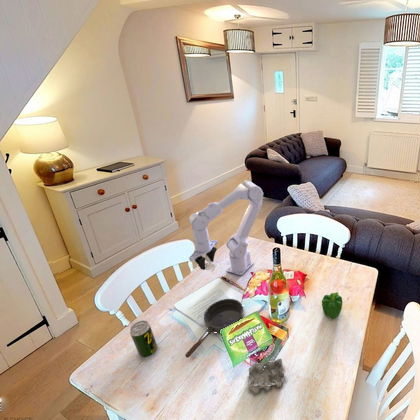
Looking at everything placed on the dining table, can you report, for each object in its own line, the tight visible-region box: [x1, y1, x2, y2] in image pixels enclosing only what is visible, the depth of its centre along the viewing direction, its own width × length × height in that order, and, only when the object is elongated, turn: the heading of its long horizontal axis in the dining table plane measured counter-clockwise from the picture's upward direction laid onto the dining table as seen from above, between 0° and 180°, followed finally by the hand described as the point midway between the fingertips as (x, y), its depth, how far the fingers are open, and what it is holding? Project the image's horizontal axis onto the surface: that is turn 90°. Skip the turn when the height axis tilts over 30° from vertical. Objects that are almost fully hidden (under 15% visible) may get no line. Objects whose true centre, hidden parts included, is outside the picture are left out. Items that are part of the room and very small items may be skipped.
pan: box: [203, 298, 245, 335], centre depth 104 cm, size 14×14×4 cm
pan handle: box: [184, 327, 213, 359], centre depth 92 cm, size 12×2×2 cm, turn 161°
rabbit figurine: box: [196, 254, 217, 273], centre depth 119 cm, size 6×4×8 cm
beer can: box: [129, 320, 158, 359], centre depth 89 cm, size 5×5×12 cm
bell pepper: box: [321, 291, 343, 320], centre depth 106 cm, size 8×8×10 cm
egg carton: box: [248, 358, 285, 394], centre depth 83 cm, size 11×8×4 cm
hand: (207, 265), depth 120 cm, fingers closed on rabbit figurine, 4 cm apart
